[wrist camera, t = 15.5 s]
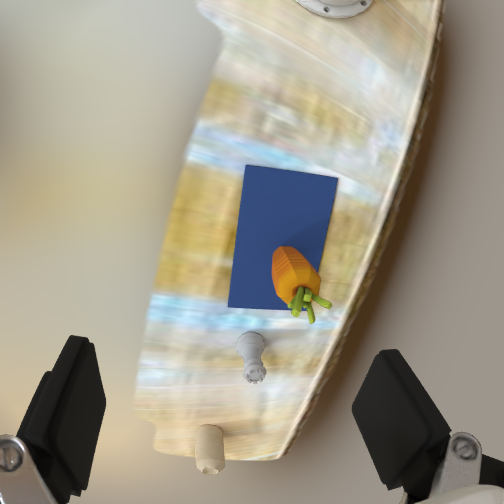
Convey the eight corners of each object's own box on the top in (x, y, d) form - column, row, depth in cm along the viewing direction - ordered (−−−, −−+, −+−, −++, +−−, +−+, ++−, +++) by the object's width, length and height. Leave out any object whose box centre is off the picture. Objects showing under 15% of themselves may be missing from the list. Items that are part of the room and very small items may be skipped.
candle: (204, 421, 57) (206, 462, 47) (227, 429, 58) (231, 470, 49) (190, 433, 58) (190, 473, 49) (212, 441, 60) (214, 480, 51)
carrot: (305, 239, 43) (345, 297, 29) (288, 270, 45) (319, 337, 31) (272, 225, 42) (301, 281, 28) (255, 258, 43) (275, 325, 30)
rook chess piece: (253, 325, 48) (260, 361, 41) (268, 343, 50) (277, 378, 43) (229, 340, 49) (232, 376, 42) (245, 356, 51) (251, 392, 43)
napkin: (245, 164, 39) (245, 165, 38) (336, 177, 41) (338, 178, 40) (227, 305, 46) (227, 307, 46) (307, 309, 48) (308, 311, 48)
